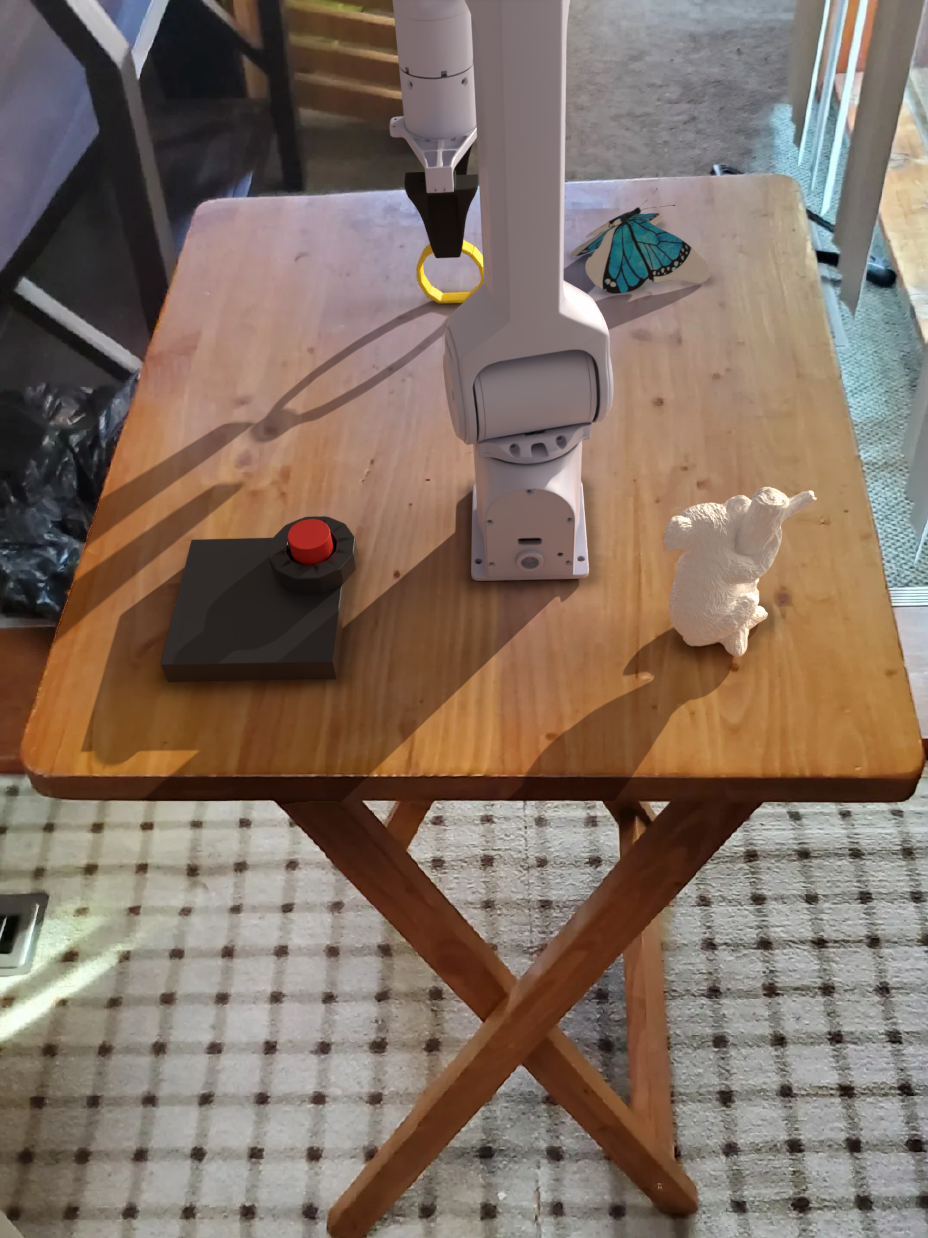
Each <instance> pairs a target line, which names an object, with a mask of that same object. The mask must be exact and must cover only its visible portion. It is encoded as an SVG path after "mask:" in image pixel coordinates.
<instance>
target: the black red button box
mask: <svg viewBox="0 0 928 1238" xmlns="http://www.w3.org/2000/svg"><path fill="white" fill-rule="evenodd" d="M308 519H316V520H320V521H322V522H324V523H325V524H327V526H328V527H329V529H330V533H331V538H332V543H333V552H332V554H331V556H330V557H329V558H328V559H327V560H325V561H324V562H321V563H319V564H316V565H304V564H300V563H298V562H297V561H296V560H295V559H294V558H293V556H292V553H291V549H290V545H289V541H288V533H289V530H290V529H291V528H292V527H293V526H294V525H295V524H296V523H298V522H300V521H303V520H308ZM358 557H359V551H358V547H357V541H356V537H355V536H354V534H353V532H352V531H351V529H350V528H349V527H348V525H347V524H346V523H345V522H342V521H339V520H337V519H335V518H333V517H330V516H327V515H321V516H304V517H301V518H298V519H297V520H294V521H291V522H288V523H287V524H285V525H283V526H282V528H281V529H280V530H278V532H277V533H276V534H275V535H274V536H273V537H243V538H242V537H241V538H239V537H237V538H202V539H201V538H199V539H198V538H197V539H191V540H190V544H189V549H188V551H187V557H186V560H185V564H184V565H185V566H184V568H183V572H182V577H181V582H180V583H179V588H178V592H177V596H176V600H175V605H174V609H173V613H172V615H171V616H172V617H171V621H170V624H169V629H168V632H167V637H166V641H165V645H164V648H163V653H162V657H161V660H160V668H161V670H162V672H163V675H164V676H165V679H166V681H167V682H168V683H186V682H188V683H189V682H191V683H192V682H193V683H194V682H240V681H241V682H245V681H247V682H251V681H303V680H305V681H306V680H337V679H338V674H339V673H338V672H339V665H340V656H341V647H342V639H343V631H344V621H345V615H346V614H345V612H346V605H347V604H346V603H347V595H348V588H349V587H348V586H349V578H351V576H352V575H353V574H354V573H355V572H356V570H357V567H358V566H357V565H358Z"/></svg>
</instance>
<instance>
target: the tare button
mask: <svg viewBox="0 0 928 1238" xmlns="http://www.w3.org/2000/svg"><path fill="white" fill-rule="evenodd" d="M288 541H289V545H290V549H291V553H292V556H293V558H294V559H295V560H296V561H297V562H298V563H300V564H304V565H316V564H319V563H321V562H324V561H325V560H327V559H328V558H329V557H330V556H331V554H332V552H333V543H332V538H331V533H330V529H329V527H328V526H327V524H325V523H324V522H322V521H320V520H316V519H308V520H303V521H300V522H298V523H296V524H295V525H294V526H293V527H292V528H291V529H290V530H289V533H288Z"/></svg>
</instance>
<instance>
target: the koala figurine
mask: <svg viewBox="0 0 928 1238" xmlns="http://www.w3.org/2000/svg"><path fill="white" fill-rule="evenodd" d="M815 501H817V497H815V492H814V491H813V490H806V491H803V490H802V491H800V492H799V493H798V494H796V495H793V496H791V497H788V496H787V495H786V494H785V493H784V492H782V491H780V490H779V489H777V488H775V487H770V486H764V487H761V488H758V489H757V490H756V491H755V492H754V493H753V495H752V498H751V499H750V498H749V497H748V496H746V495H744V494H740V495H735V496H732V497H730V498H728V499H727V500H726V501H725V502H724V503H721V504H720V503H716V502H702V503H698V504H695V505H692V506H689V507H688V508H685V509H683V511H682V512H681V513H680V514H679V515H674V516H672V517H671V518H670V521H667V525H666V527H665V528H664V531H665V532H663V535H664V536H663V546H664V549H665V550H666V551H667V552H674V551H680V550H681V551H682V552H683V553H682V554H680V556H678V560H677V568H676V572H675V574H674V580H673V583H672V584H671V587H670V592H669V594H670V595H669V599H668V614H669V615H668V616H669V620H670V622H671V625H672V627H673V628H674V629H675V631H677V633H678V634H679V635H680V636H681V637H682V640H683V641H684V643H685V644H686V645H688V646H690V647H703V646H709V645H714V644H717V643H720V644H721V645H723V647H724V649H725V650H726V652H727V653H728V654H729V655H732V656H733V657H735V658H741V657H742V656H744V655H745V653H746V652H747V649H748V638H749V635H750V630H752V629H753V628H755V627H756V626H757V625H758V624H760V623H762V622H763V621H765V620H766V619H767V618H768V615H769V613H768V612H767V611H766V609H765V608H764V607H763V606H761V605H759V602H760V591H759V590H758V588H757V587H758V583H759V582H760V578H761V577H763V575H765V574H766V573H767V572H768V570H769V569H771V567H772V565H773V564H774V561H775V560H776V557H777V555H778V553H779V550H780V547H781V544H782V539H783V538H782V537H783V530H782V524H783V523H784V521H786V520H789V518H792V516H795V514H797V513H799V512H801V511H804V509H807V508H808V507H810V506H811V505H812V504H813V503H814V502H815Z"/></svg>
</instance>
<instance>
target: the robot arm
mask: <svg viewBox="0 0 928 1238" xmlns="http://www.w3.org/2000/svg"><path fill="white" fill-rule="evenodd" d="M570 3H571V0H392V8H393V9H392V10H393V18H394V29H395V39H396V48H397V49H396V50H397V61H398V70H399V80H400V91H401V102H402V112H403V115H402V116H401V115H400V116H394V117H392V118H391V119H390V120H389V125H388V126H389V135H390V137H392V138H403V139H404V140H405V141H406V142H407V144H408V145H409V147H410V148H411V150H412V152H413V153H414V154H415V156H416V157H417V159H418V160H419V162H420V163H421V165H422V167H423V169H424V171H409V172H405V173H404V182H403V183H404V191H405V194H406V196H407V199H409V200H410V202H411V203H412V204H413V206H414V207H415V209H416V210H417V212H418V214H419V216H420V219H421V220H422V223H423V226H424V229H425V232H426V235H427V239H428V242H429V244H430V245H431V248H432V251H433V253H432V254H433V256H434V258H435V259H455V258H456V259H457V258H460V257H461V255H462V247H463V240H464V241H465V230H466V223H467V217H468V213H469V209H470V207H471V204H472V203H473V200H474V199H475V197H476V194H477V191H478V188H479V206H480V207H479V209H480V227H481V229H480V230H481V247H482V248H481V250H482V255H483V271H484V283H483V284H482V286H481V287H480V288H479V289H478V290H477V291H476V292H475V293H473V294H472V295H471V296H470V297H469V298H468V299H467V300H466V301H465V302H463V303H460V305H459V306H458V307H457V308H456V309H455V310H454V311H452V313H450V315H448V317H447V319H446V327H445V329H444V331H443V334H444V335H443V336H444V353H443V356H442V368H443V369H442V370H443V380H444V388H445V394H446V401H447V407H448V411H449V416H450V420H451V424H452V428H453V432H454V433H455V436H456V437H457V439H459V440H461V441H463V443H464V444H465V445H466V446H471V445H472V446H473V447H472V448H473V464H474V465H473V466H474V481H475V483H473V486H472V507H471V557H470V558H471V562H470V563H471V564H470V566H471V567H470V575H471V579H472V580H474V581H477V582H486V581H489V582H490V581H531V580H532V581H533V580H534V581H536V580H537V581H539V580H575V579H576V580H577V579H578V580H579V579H580V580H582V579H586V578H587V577H589V574H590V566H589V552H588V540H587V526H586V525H587V523H586V514H585V513H586V512H585V499H584V487H583V485H584V484H583V482H582V458H583V442H584V441H587V440H590V439H591V438H592V423H593V424H599V423H603V422H604V421H605V419H606V418H607V415H608V414H609V412H610V411H611V410H612V407H613V402H614V392H615V391H614V389H615V387H614V385H615V384H614V373H613V366H612V359H611V352H610V351H611V350H610V349H611V348H610V344H611V343H610V337H611V336H610V330H609V328H608V325H607V323H606V320H605V318H604V316H603V313H602V312H601V310H600V308H599V306H598V305H597V303H596V301H595V300H594V299H593V297H592V296H591V295H589V294H588V293H587V292H585V291H583V290H581V289H580V288H578V287H576V286H575V285H573V284H571V283H570V282H567V281H566V280H564V271H565V270H564V266H565V265H564V264H565V263H564V259H565V245H564V244H565V195H566V194H565V189H566V187H565V186H566V184H565V183H566V182H565V181H566V119H567V118H566V112H567V109H566V107H567V105H566V104H567V100H566V99H567V97H566V96H567V38H568V37H567V36H568V21H569V14H570V13H569V12H570ZM475 141H476V143H477V144H476V147H477V148H476V149H477V167H478V173H476V174H468V166H469V161H470V160H469V159H470V155H471V152H472V148H473V145H474V142H475Z"/></svg>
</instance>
